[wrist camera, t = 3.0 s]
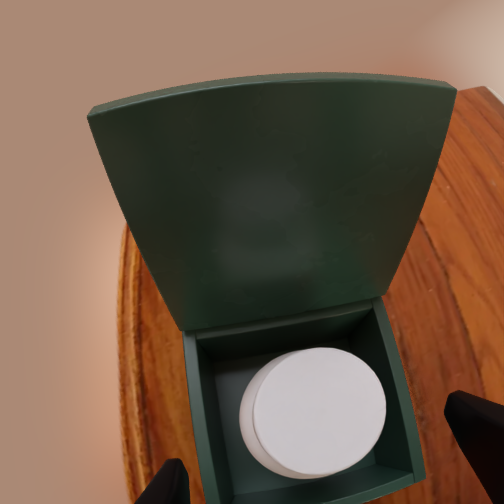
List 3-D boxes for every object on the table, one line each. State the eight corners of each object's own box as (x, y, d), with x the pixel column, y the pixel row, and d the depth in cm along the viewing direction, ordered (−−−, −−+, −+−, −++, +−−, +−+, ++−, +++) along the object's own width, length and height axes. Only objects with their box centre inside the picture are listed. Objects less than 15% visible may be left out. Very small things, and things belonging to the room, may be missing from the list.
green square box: (383, 467, 14) (426, 478, 9) (226, 502, 13) (211, 531, 9) (351, 329, 19) (380, 293, 14) (203, 356, 18) (181, 328, 13)
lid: (458, 89, 6) (445, 81, 7) (84, 116, 6) (92, 106, 6) (385, 295, 13) (380, 284, 14) (179, 331, 13) (179, 319, 13)
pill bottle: (347, 379, 17) (413, 335, 9) (333, 465, 14) (395, 495, 6) (256, 366, 17) (251, 314, 10) (238, 454, 15) (214, 480, 7)
